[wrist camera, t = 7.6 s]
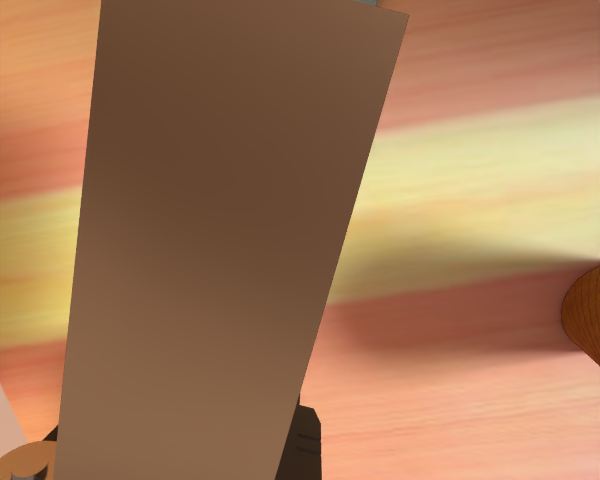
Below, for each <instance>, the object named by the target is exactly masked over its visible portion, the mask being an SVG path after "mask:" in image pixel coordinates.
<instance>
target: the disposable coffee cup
mask: <svg viewBox="0 0 600 480" xmlns="http://www.w3.org/2000/svg"><path fill="white" fill-rule="evenodd" d="M561 315H562V324H563V327H564V330H565V332H566V334H567V335H568V337H569V338H570V339H571V340H572V341H573V342H574V343H575V344H577V345H578V346H579V347H580V348H581V349H582V350H583V351H584V352H585V353H586V354H587V355H588V356H590V357H591V358H592V359H593V360H594V361H595V362H596V363H597V364H598V365H599V366H600V267H598V268H595V269H593V270H591V271H589V272H588V273H586V274H585V275H584V276H582V277H581V278H579V279H578V281H577V282H576V283H575V284H574V285H573V286H572V287H571V289H570V290H569V292H568V293H567V295H566V297H565V300H564V302H563V305H562V311H561Z"/></svg>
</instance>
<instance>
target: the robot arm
mask: <svg viewBox="0 0 600 480" xmlns="http://www.w3.org/2000/svg"><path fill="white" fill-rule="evenodd" d="M299 403H300V394H299V397H298V401H297V404H296V408H295V411H294V414H293V418H292V421H291V425H290V428H289V432H288V435H287V439H286V442H285V445H284V449H283V452H282V456H281V459H280V463H279V466H278V470H277V473H276V476H275V480H322V470H321V423H320V421H319V419H318V417H317V415H316V412H315V410H314V409H313V408H309V407H305V406H301V405H299ZM57 434H58V425H57V426H56V427H55V428H54V429H53V430H52V431H51V432H50V433H49V434H48V435H47V436H46V437H45V438H44V439H43V440H42V441H37V442H33V443H29V444H26V445H23V446H20V447H18V448H16V449H14V450H12V451H10V452H8V453H7V454H6V455H4V456H3V457H1V458H0V480H53V474H54V464H55V454H56V444H57Z"/></svg>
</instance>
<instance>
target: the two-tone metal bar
mask: <svg viewBox="0 0 600 480" xmlns="http://www.w3.org/2000/svg"><path fill="white" fill-rule="evenodd" d="M408 18H409V15H407V14H403V13H399V12H396V11H392V10H388V9H384V8H380V7H377V6H373V5H369V4H365V3H362V2H358V1H354V0H102V1H101V10H100V20H99V30H98V40H97V50H96V60H95V70H94V79H93V89H92V99H91V109H90V119H89V129H88V139H87V148H86V158H85V168H84V178H83V188H82V198H81V208H80V217H79V227H78V237H77V247H76V257H75V267H74V277H73V286H72V296H71V306H70V316H69V326H68V336H67V346H66V355H65V365H64V375H63V385H62V395H61V405H60V415H59V424H58V434H57V444H56V454H55V464H54V474H53V480H275V476H276V473H277V470H278V466H279V463H280V459H281V456H282V452H283V449H284V445H285V442H286V439H287V435H288V432H289V428H290V425H291V421H292V418H293V414H294V411H295V408H296V404H297V401H298V397H299V394H300V390H301V387H302V383H303V380H304V377H305V373H306V370H307V366H308V363H309V359H310V356H311V352H312V349H313V346H314V342H315V339H316V335H317V332H318V328H319V325H320V321H321V318H322V315H323V311H324V308H325V304H326V301H327V297H328V294H329V290H330V287H331V284H332V280H333V277H334V273H335V270H336V266H337V263H338V259H339V256H340V252H341V249H342V246H343V242H344V239H345V235H346V232H347V228H348V225H349V221H350V218H351V215H352V211H353V208H354V204H355V201H356V197H357V194H358V190H359V187H360V184H361V180H362V177H363V173H364V170H365V166H366V163H367V159H368V156H369V153H370V149H371V146H372V142H373V139H374V135H375V132H376V128H377V125H378V122H379V118H380V115H381V111H382V108H383V104H384V101H385V97H386V94H387V91H388V87H389V84H390V80H391V77H392V73H393V70H394V66H395V63H396V60H397V56H398V53H399V49H400V46H401V42H402V39H403V35H404V32H405V29H406V25H407V22H408Z"/></svg>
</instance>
